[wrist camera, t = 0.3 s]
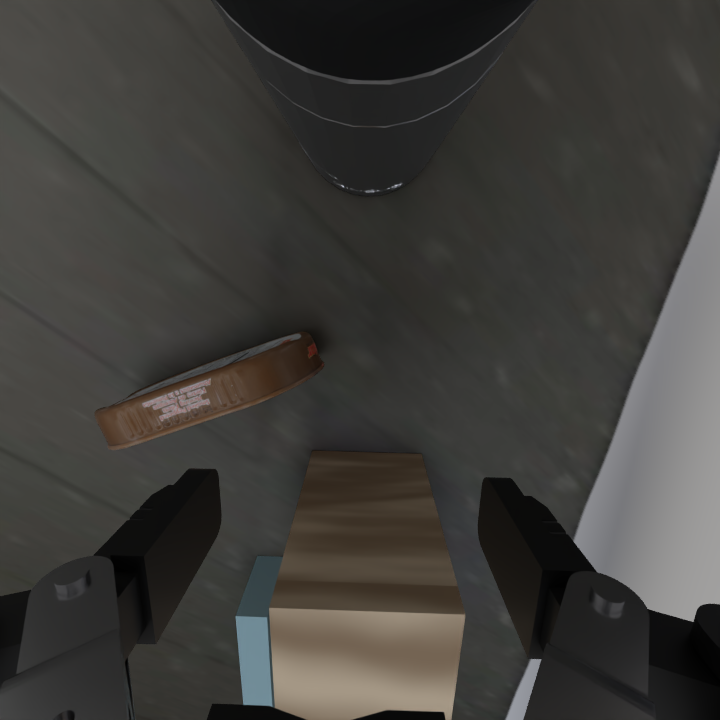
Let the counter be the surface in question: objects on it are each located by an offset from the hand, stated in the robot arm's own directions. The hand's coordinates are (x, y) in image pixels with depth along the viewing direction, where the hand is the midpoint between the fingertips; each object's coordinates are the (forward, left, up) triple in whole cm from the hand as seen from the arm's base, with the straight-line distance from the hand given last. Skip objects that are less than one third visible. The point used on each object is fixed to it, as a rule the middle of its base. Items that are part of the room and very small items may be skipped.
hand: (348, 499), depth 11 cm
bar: (+31, -8, -18) cm, 36 cm away
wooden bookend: (+17, +1, -18) cm, 24 cm away
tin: (+2, -10, -18) cm, 20 cm away
